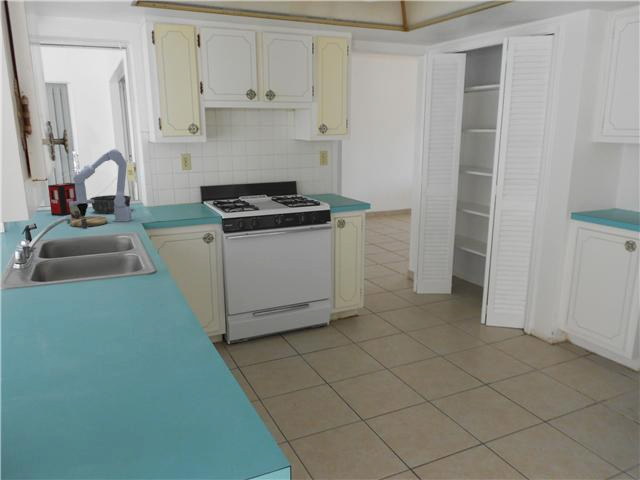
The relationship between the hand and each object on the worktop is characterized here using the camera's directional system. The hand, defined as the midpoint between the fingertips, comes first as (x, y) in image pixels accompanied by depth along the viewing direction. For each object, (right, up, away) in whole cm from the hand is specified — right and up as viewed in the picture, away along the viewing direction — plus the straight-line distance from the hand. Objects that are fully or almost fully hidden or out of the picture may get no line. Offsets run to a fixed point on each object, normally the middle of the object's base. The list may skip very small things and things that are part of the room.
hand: (83, 215), depth 302 cm
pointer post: (+8, -8, -15) cm, 19 cm away
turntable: (+5, -5, -4) cm, 8 cm away
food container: (-10, -1, +16) cm, 18 cm away
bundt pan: (+1, +5, +40) cm, 40 cm away
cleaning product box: (-26, +3, +31) cm, 41 cm away
